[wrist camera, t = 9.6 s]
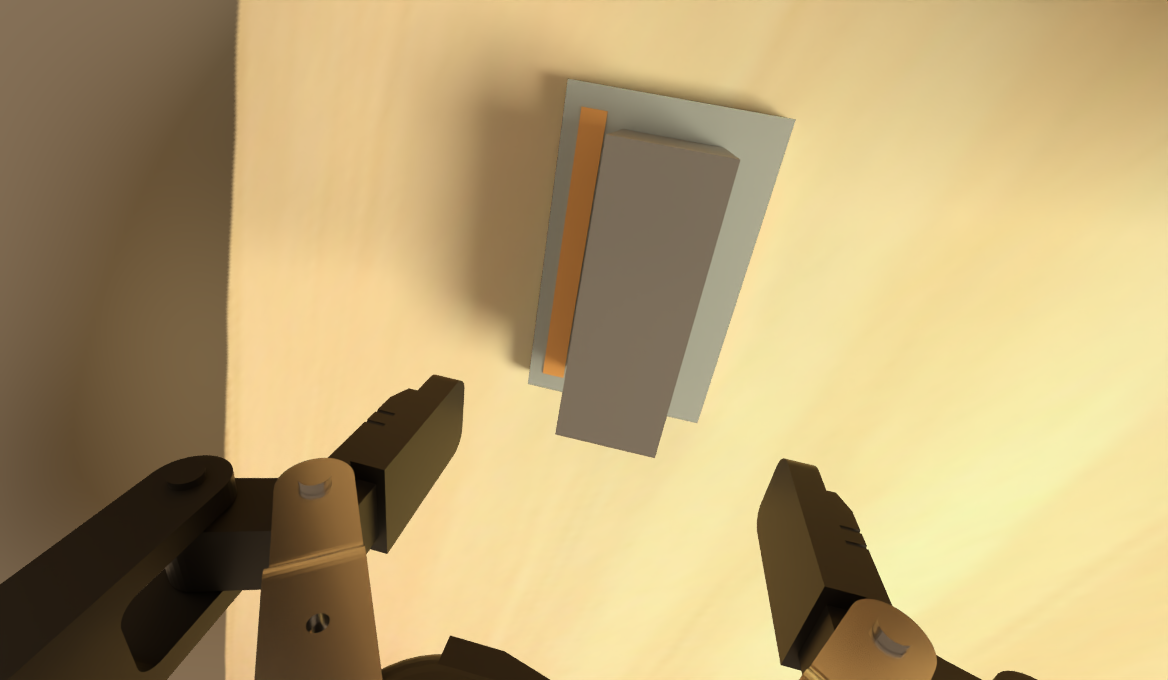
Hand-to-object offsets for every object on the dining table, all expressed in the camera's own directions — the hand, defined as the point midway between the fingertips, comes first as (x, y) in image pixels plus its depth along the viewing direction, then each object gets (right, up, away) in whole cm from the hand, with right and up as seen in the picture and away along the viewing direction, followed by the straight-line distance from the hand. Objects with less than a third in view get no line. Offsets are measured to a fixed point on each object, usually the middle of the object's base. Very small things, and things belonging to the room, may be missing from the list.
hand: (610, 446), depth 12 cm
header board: (+2, +7, +14) cm, 16 cm away
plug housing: (+2, +6, +13) cm, 14 cm away
